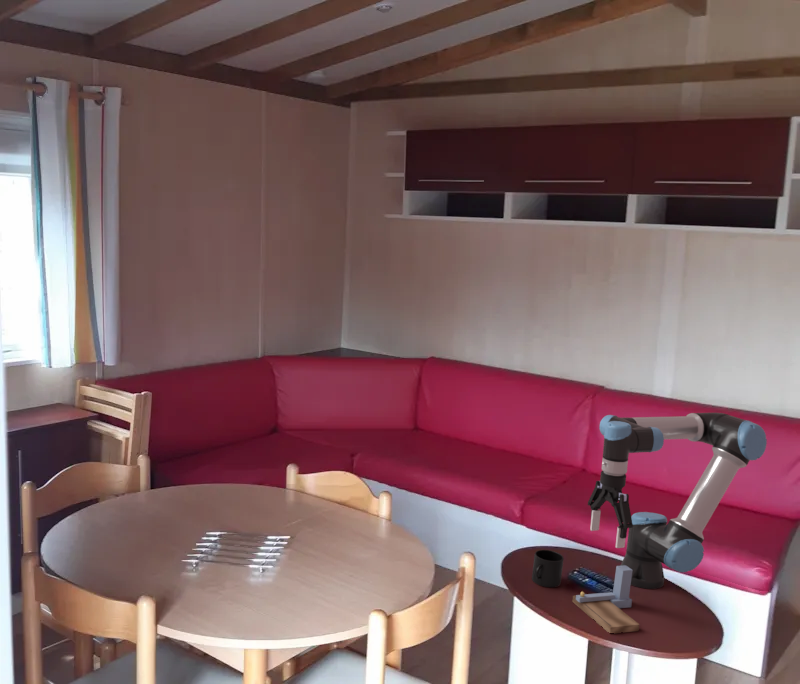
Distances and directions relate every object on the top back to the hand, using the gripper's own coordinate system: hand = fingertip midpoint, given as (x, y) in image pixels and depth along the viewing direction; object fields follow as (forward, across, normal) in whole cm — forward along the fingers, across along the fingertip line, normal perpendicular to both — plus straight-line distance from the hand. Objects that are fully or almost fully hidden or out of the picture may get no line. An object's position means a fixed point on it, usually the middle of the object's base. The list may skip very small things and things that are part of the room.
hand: (606, 538), depth 239 cm
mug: (+22, -17, -10) cm, 30 cm away
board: (+22, +7, -3) cm, 23 cm away
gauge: (+22, +1, 0) cm, 22 cm away
